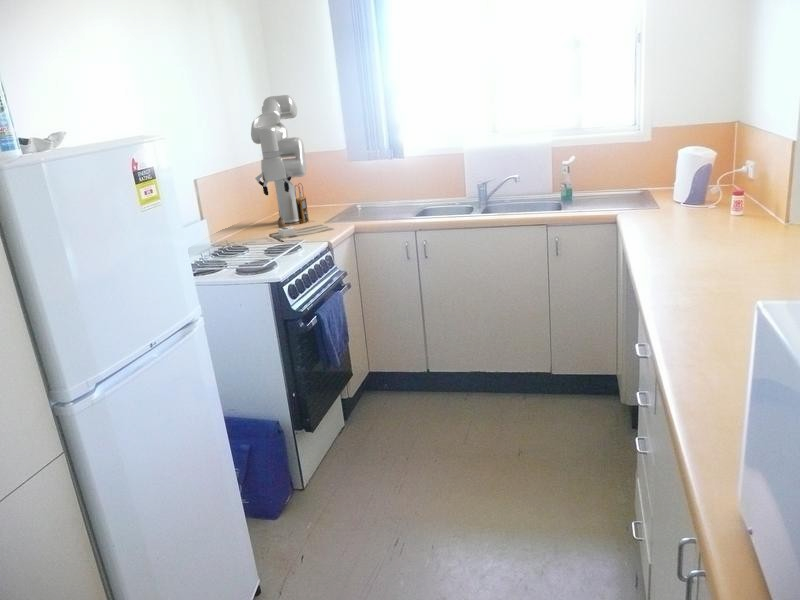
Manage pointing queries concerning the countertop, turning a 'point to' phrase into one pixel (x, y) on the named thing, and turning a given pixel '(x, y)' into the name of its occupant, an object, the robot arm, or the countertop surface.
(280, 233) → the thermostat
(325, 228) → the subfloor panel
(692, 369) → the countertop surface
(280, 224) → the awl
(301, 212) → the multimeter
